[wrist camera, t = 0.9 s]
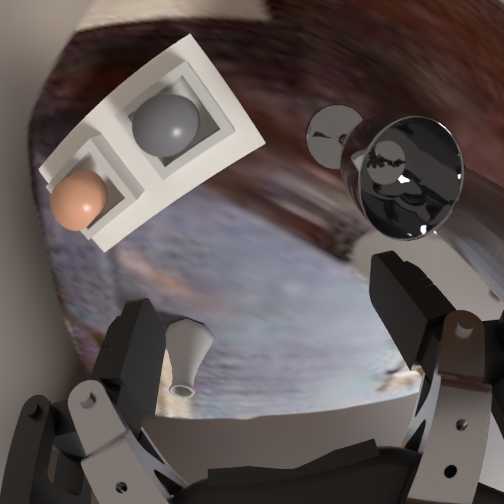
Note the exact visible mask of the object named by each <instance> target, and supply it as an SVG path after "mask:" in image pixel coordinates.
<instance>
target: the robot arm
mask: <svg viewBox="0 0 504 504" xmlns="http://www.w3.org/2000/svg"><path fill="white" fill-rule="evenodd" d="M434 232H435V233H436V234H437V235H438V236H440V237H441V238H442V239H443V240H444V241H445V242H446V243H447V244H448V245H449V246H450V247H451V248H452V249H453V250H454V251H455V252H456V253H457V254H458V255H459V256H460V257H461V258H462V259H463V260H464V261H465V262H466V263H467V264H468V265H469V266H470V267H471V268H472V269H473V270H474V271H475V272H476V273H477V274H478V276H479V277H480V278H481V279H482V280H483V281H484V282H485V283H486V284H487V285H488V286H489V288H490V289H491V290H492V291H493V292H494V293H495V294H496V295H497V297H498V298H499V299H500V300H501V301H502V302H503V304H504V188H503V187H501V186H500V185H498V184H496V183H495V182H493V181H491V180H489V179H488V178H486V177H484V176H482V175H480V174H478V173H476V172H475V171H473V170H471V169H469V168H467V167H464V179H463V186H462V190H461V194H460V197H459V200H458V202H457V204H456V206H455V208H454V210H453V212H452V213H451V214H450V216H449V217H448V219H447V220H446V221H445V222H444V223H443V224H442V225H441V226H440V227H439V228H437V229H436V230H435V231H434ZM369 294H370V299H371V302H372V305H373V307H374V308H375V310H376V312H377V313H378V315H379V317H380V318H381V320H382V322H383V323H384V325H385V327H386V329H387V330H388V332H389V334H390V335H391V337H392V339H393V341H394V342H395V344H396V346H397V348H398V350H399V351H400V353H401V355H402V357H403V359H404V360H405V362H406V364H407V366H408V368H409V370H410V371H412V370H415V369H418V368H420V367H422V369H423V371H424V374H423V377H422V381H421V385H420V389H419V393H418V397H417V401H416V405H415V408H414V412H413V415H412V419H411V422H410V425H409V427H408V429H407V432H406V434H405V436H404V438H403V441H402V443H401V446H400V447H393V446H378V447H377V446H376V443H375V440H374V439H371V440H368V441H365V442H361V443H358V444H355V445H352V446H348V447H344V448H341V449H338V450H334V451H332V452H330V453H328V454H326V455H324V456H322V457H320V458H318V459H316V460H314V461H311V462H309V463H307V464H305V465H303V466H300V467H298V468H295V469H275V468H263V467H252V466H244V467H233V468H219V469H208V478H206V479H202V480H200V481H197V482H195V483H193V484H191V485H189V486H188V485H187V483H186V482H185V481H184V480H183V479H182V478H181V477H180V476H179V475H178V474H177V473H176V472H175V471H174V470H173V469H172V468H171V467H170V466H169V465H168V463H167V462H166V461H165V459H164V458H163V456H162V455H161V454H160V452H159V451H158V450H157V448H156V447H155V445H154V444H153V442H152V441H151V439H150V438H149V437H148V435H147V434H146V432H145V431H144V429H143V428H142V427H141V426H142V419H154V418H155V410H156V403H157V396H158V389H159V383H160V377H161V370H162V364H163V358H164V353H165V347H166V336H165V332H164V329H163V327H162V325H161V323H160V321H159V319H158V316H157V314H156V312H155V310H154V308H153V306H152V304H151V302H150V300H149V299H148V298H142V299H136V300H130V301H127V302H126V304H125V307H124V309H123V312H122V314H121V316H117V317H116V319H115V320H114V321H113V322H112V323H111V325H110V326H109V328H108V330H107V333H106V335H105V339H104V341H103V343H102V348H100V351H99V354H98V357H97V359H96V362H95V365H94V368H93V371H92V374H91V377H90V379H89V380H88V381H84V382H82V383H80V384H79V385H77V386H76V387H75V388H74V389H73V390H72V392H71V394H70V396H69V399H68V400H65V401H61V402H58V403H53V404H52V403H51V402H50V401H49V400H48V399H47V398H46V397H45V396H43V395H35V396H32V397H31V398H29V399H28V401H26V403H25V404H24V406H23V407H22V410H21V413H20V416H19V419H18V422H17V425H16V429H15V432H14V436H13V439H12V443H11V447H10V450H9V454H8V458H7V463H6V467H5V472H4V477H3V482H2V488H1V494H0V504H91V492H92V490H93V492H94V494H95V495H96V498H97V500H98V502H99V503H100V504H504V492H502V491H499V490H496V489H494V488H492V487H489V486H487V485H484V484H482V483H480V482H478V481H479V476H480V473H481V468H482V464H483V459H484V454H485V449H486V443H487V437H488V430H489V423H490V413H491V412H492V414H493V416H494V418H495V420H496V423H497V425H498V427H499V429H500V432H501V434H502V436H503V439H504V310H503V312H502V315H501V317H500V319H499V320H490V321H481V320H480V318H479V317H478V316H476V315H475V314H473V313H471V312H469V311H465V310H456V309H455V308H454V307H453V305H452V304H451V303H450V302H449V301H448V300H447V298H446V297H445V296H444V295H443V294H442V293H441V291H440V290H439V289H438V288H437V287H436V286H435V285H433V282H432V281H431V280H430V279H429V278H427V276H426V274H425V273H424V272H423V271H422V270H421V269H420V268H419V267H417V266H416V265H414V264H412V263H410V262H408V261H405V262H403V260H402V259H401V258H400V257H399V256H398V255H397V254H396V253H395V252H394V251H387V252H383V253H379V254H374V255H373V256H372V259H371V273H370V286H369ZM52 448H54V449H55V450H57V451H58V452H59V453H58V459H57V464H56V470H55V476H54V483H53V484H52V483H51V481H50V480H49V478H48V474H47V469H48V465H49V459H50V454H51V449H52Z"/></svg>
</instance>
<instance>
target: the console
mask: <svg viewBox="0 0 504 504" xmlns="http://www.w3.org/2000/svg"><path fill="white" fill-rule="evenodd" d="M167 94H177V95H182V96H184V97H186V98H188V99H190V100H191V101H192V102H193V103H194V104H195V105H196V107H197V109H198V111H199V114H200V127H199V130H198V132H197V134H196V136H195V137H194V139H193V140H192V141H191V142H190V143H189V144H188V145H187V146H186V147H185V148H184V149H183V150H182V151H180V152H179V153H177V154H175V155H172V156H169V157H156V156H152V155H149V154H148V153H146V152H144V151H143V150H142V149H141V148H140V147H139V146H138V145H137V143H136V141H135V139H134V136H133V132H132V122H133V118H134V115H135V113H136V111H137V109H138V108H139V107H140V106H141V104H143V103H144V102H145V101H146V100H148V99H150V98H151V97H154V96H157V95H167ZM264 144H265V142H264V140H263V138H262V136H261V135H260V133H259V132H258V130H257V129H256V127H255V125H254V124H253V122H252V121H251V119H250V118H249V116H248V115H247V113H246V112H245V110H244V109H243V107H242V106H241V104H240V103H239V101H238V100H237V98H236V97H235V95H234V94H233V92H232V91H231V89H230V88H229V86H228V85H227V84H226V82H225V81H224V79H223V78H222V76H221V75H220V73H219V72H218V71H217V69H216V68H215V66H214V65H213V64H212V62H211V61H210V59H209V58H208V57H207V55H206V54H205V53H204V51H203V50H202V49H201V47H200V46H199V45H198V43H197V42H196V41H195V39H194V38H193V37H192V36H191V34H189V35H187V36H186V37H184V38H182V39H181V40H179V41H178V42H176V43H175V44H173V45H172V46H170V47H169V48H167V49H166V50H165V51H163V52H162V53H160V54H159V55H157V56H156V57H155V58H153V59H152V60H151V61H149V62H148V63H147V64H145V65H144V66H143V67H141V68H140V69H139V70H138V71H136V72H135V73H134V74H133V75H131V76H130V77H129V78H128V79H126V80H125V81H124V82H123V83H122V84H120V85H119V86H118V87H117V88H116V89H115V90H113V91H112V92H111V93H110V94H109V95H108V96H107V97H106V98H105V99H103V100H102V101H101V102H100V103H99V104H98V105H97V106H96V107H95V108H94V109H93V110H92V111H91V112H90V113H89V114H88V115H87V116H86V117H85V118H84V119H83V120H82V121H81V122H80V123H79V124H78V125H77V126H76V127H75V128H74V129H73V130H72V131H71V132H70V133H69V134H68V135H67V137H66V138H65V139H64V140H63V141H62V142H61V143H60V144H59V145H58V147H57V148H56V149H55V150H54V151H53V152H52V154H51V155H50V156H49V157H48V158H47V160H46V161H45V162H44V163H43V165H42V166H41V167H40V168H39V171H40V173H41V174H42V175H43V177H44V178H45V179H46V181H47V182H48V185H47V186H46V188H47V189H48V190H49V192H50V193H52V191H53V189H54V188H55V186H56V185H57V184H59V183H60V182H61V181H63V180H64V179H66V178H68V177H69V176H71V175H72V174H74V173H75V172H77V171H79V170H91V171H93V172H95V173H97V174H98V175H99V176H100V177H101V178H102V179H103V181H104V183H105V185H106V188H107V193H108V198H107V203H106V205H105V207H104V209H103V210H102V211H101V212H100V213H99V214H98V215H97V216H96V217H95V219H94V220H93V221H92V222H91V223H90V224H89V225H88V226H87V227H86V228H84V229H82V230H80V231H81V232H82V233H83V234H84V236H85V237H86V238H87V239H88V240H89V239H90V238H92V239H93V240H94V241H95V242H96V243H97V245H98V246H99V247H100V248H101V249H102V250H103V251H104V253H105V252H106V251H107V250H109V249H110V248H111V247H112V246H114V245H115V244H116V243H118V242H119V241H120V240H122V239H123V238H124V237H125V236H127V235H128V234H129V233H131V232H132V231H133V230H135V229H136V228H137V227H139V226H140V225H142V224H143V223H144V222H146V221H147V220H148V219H150V218H151V217H153V216H154V215H155V214H157V213H158V212H160V211H161V210H162V209H164V208H165V207H167V206H168V205H169V204H171V203H172V202H174V201H175V200H177V199H178V198H180V197H181V196H183V195H184V194H186V193H187V192H188V191H190V190H191V189H193V188H194V187H196V186H198V185H199V184H201V183H202V182H204V181H205V180H207V179H208V178H210V177H211V176H213V175H214V174H216V173H218V172H219V171H221V170H222V169H224V168H226V167H227V166H229V165H230V164H232V163H234V162H235V161H237V160H239V159H240V158H242V157H243V156H245V155H247V154H248V153H250V152H252V151H254V150H255V149H257V148H259V147H260V146H262V145H264Z"/></svg>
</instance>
